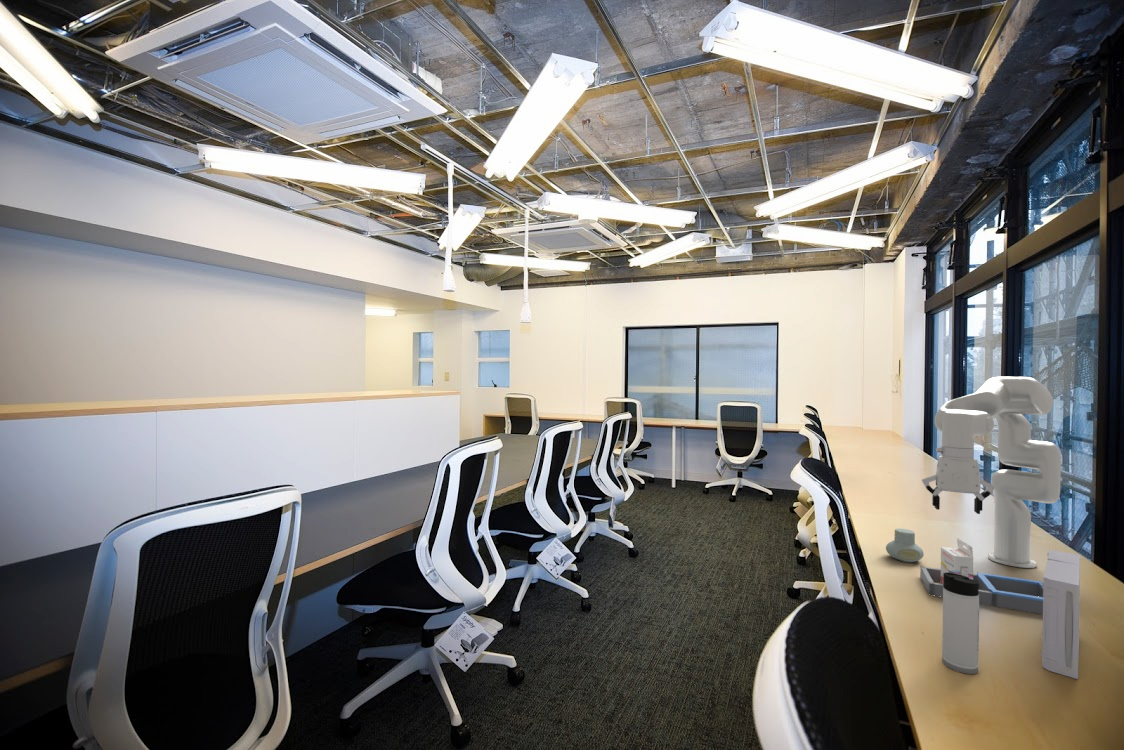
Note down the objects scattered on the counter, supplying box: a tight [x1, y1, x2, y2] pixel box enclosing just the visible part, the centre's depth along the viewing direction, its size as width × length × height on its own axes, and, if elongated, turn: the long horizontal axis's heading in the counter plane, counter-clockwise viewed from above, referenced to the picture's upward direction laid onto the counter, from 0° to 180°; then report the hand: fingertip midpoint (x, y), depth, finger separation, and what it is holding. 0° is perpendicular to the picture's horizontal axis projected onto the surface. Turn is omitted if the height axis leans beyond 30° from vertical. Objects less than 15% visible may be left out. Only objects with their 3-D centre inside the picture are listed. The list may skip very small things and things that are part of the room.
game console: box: [1040, 549, 1081, 680], centre depth 120 cm, size 6×27×20 cm, turn 135°
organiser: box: [919, 565, 1043, 615], centre depth 150 cm, size 16×30×4 cm, turn 63°
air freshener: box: [885, 528, 924, 563], centre depth 179 cm, size 11×8×10 cm
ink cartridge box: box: [940, 538, 974, 584], centre depth 153 cm, size 9×5×15 cm, turn 168°
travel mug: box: [941, 573, 980, 675], centre depth 113 cm, size 6×7×20 cm
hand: (956, 510), depth 153 cm, fingers open, 9 cm apart
